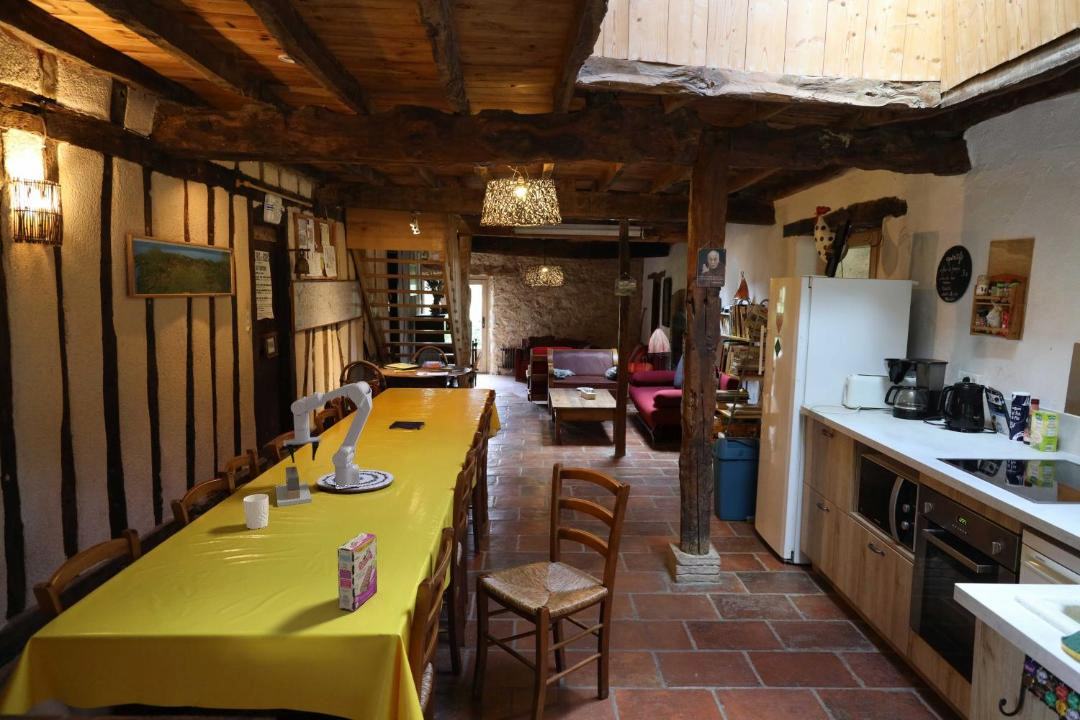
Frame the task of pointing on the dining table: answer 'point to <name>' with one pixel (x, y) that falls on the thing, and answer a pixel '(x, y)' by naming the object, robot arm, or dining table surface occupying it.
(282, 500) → the display stand
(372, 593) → the candy bar box
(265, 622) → the dining table surface
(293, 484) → the gray rectangular block
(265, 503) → the white cup
